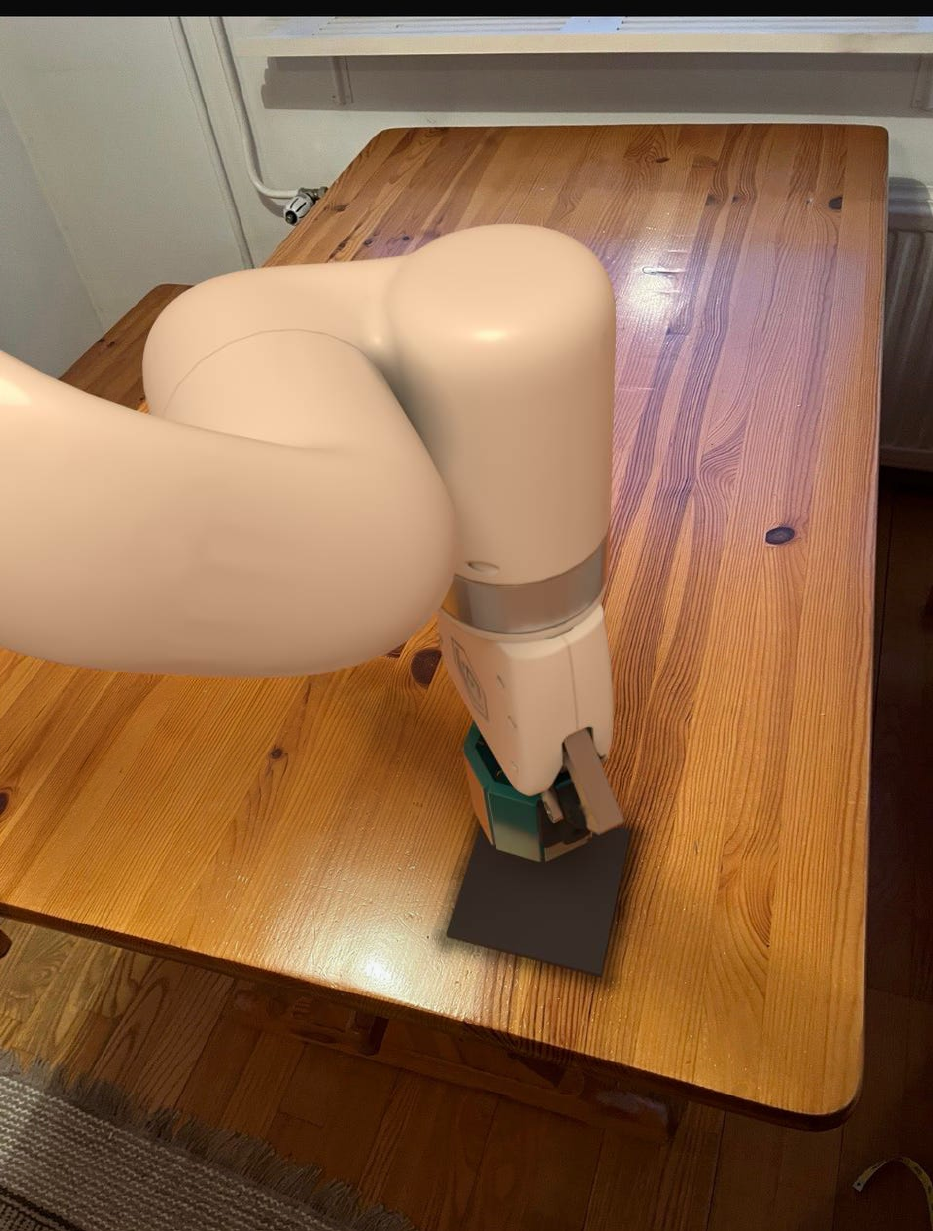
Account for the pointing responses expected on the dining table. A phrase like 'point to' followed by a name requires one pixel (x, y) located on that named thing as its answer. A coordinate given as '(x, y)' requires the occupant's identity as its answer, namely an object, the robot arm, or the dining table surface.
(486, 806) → the green octagonal cup
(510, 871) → the mat
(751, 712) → the dining table surface
